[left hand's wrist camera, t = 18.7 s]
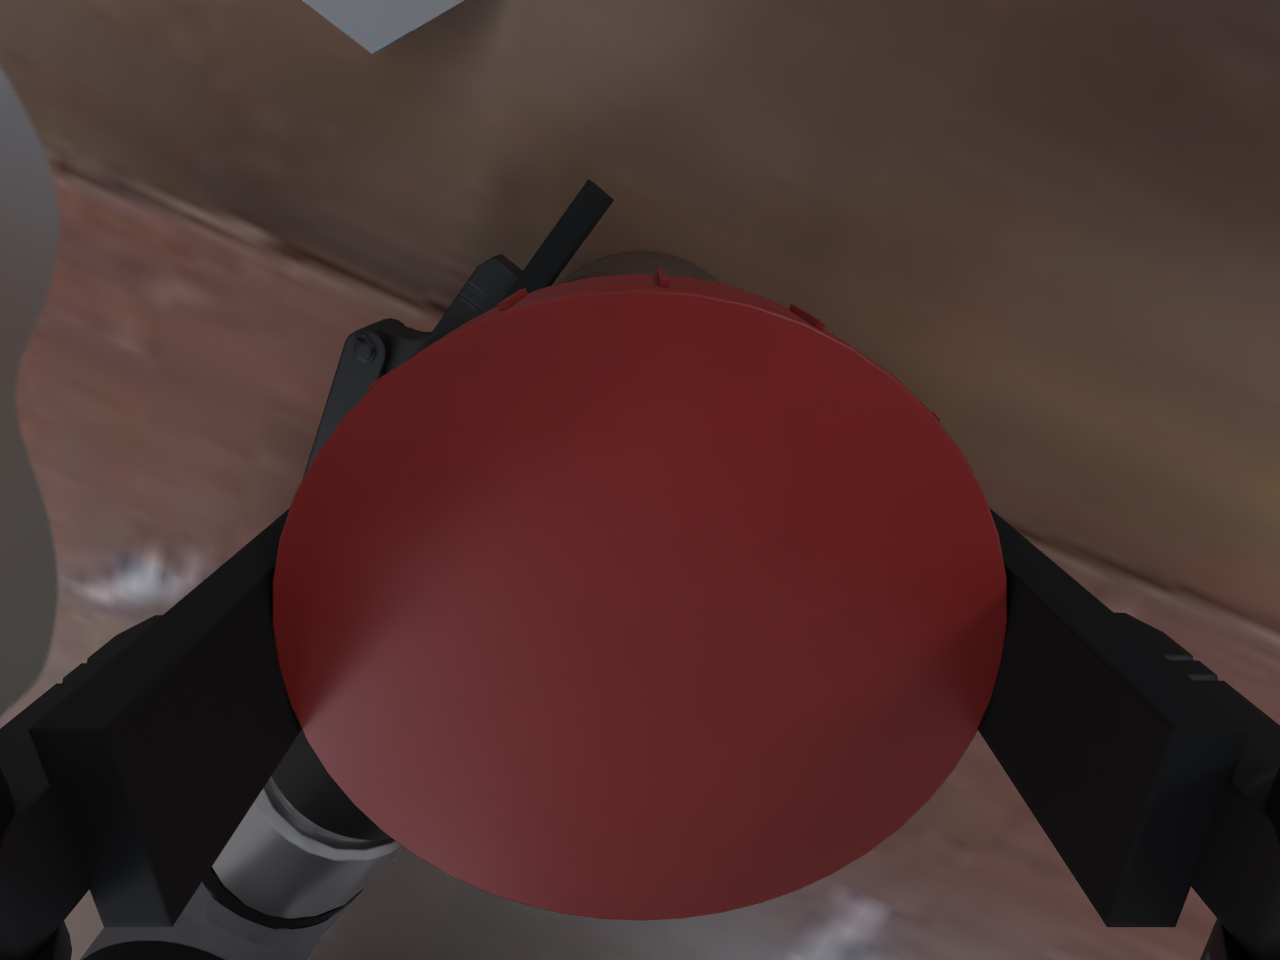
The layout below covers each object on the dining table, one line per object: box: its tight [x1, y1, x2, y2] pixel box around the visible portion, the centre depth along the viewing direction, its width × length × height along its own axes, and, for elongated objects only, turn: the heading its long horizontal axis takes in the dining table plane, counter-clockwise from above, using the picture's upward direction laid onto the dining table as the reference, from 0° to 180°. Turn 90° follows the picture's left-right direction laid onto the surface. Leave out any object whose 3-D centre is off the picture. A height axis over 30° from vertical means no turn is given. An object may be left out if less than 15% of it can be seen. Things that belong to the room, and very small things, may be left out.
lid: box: [272, 269, 1007, 920], centre depth 11 cm, size 10×10×2 cm
